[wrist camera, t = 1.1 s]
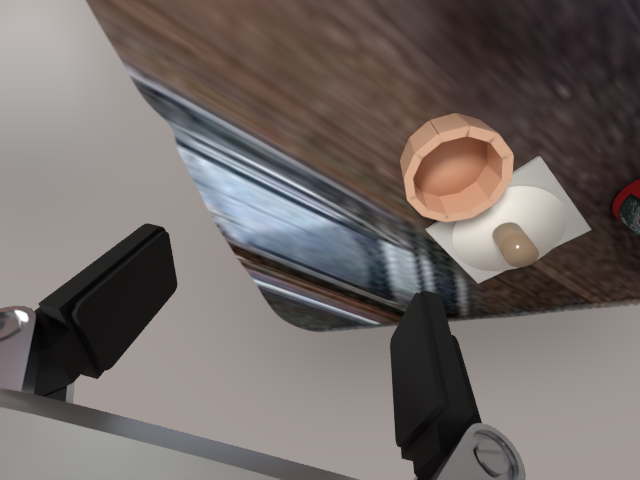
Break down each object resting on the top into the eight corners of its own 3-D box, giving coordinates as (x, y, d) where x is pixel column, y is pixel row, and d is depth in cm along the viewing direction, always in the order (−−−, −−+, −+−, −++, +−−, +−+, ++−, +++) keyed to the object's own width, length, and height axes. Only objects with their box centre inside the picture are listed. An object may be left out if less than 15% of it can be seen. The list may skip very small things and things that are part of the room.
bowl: (460, 92, 31) (475, 102, 27) (511, 161, 35) (533, 180, 30) (383, 159, 37) (385, 177, 32) (433, 212, 40) (441, 236, 36)
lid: (531, 162, 34) (557, 182, 29) (583, 233, 38) (612, 261, 33) (431, 226, 41) (439, 251, 36) (483, 280, 45) (496, 309, 41)
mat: (538, 155, 34) (540, 157, 33) (589, 227, 38) (591, 229, 38) (425, 228, 42) (426, 230, 42) (477, 281, 46) (478, 283, 46)
